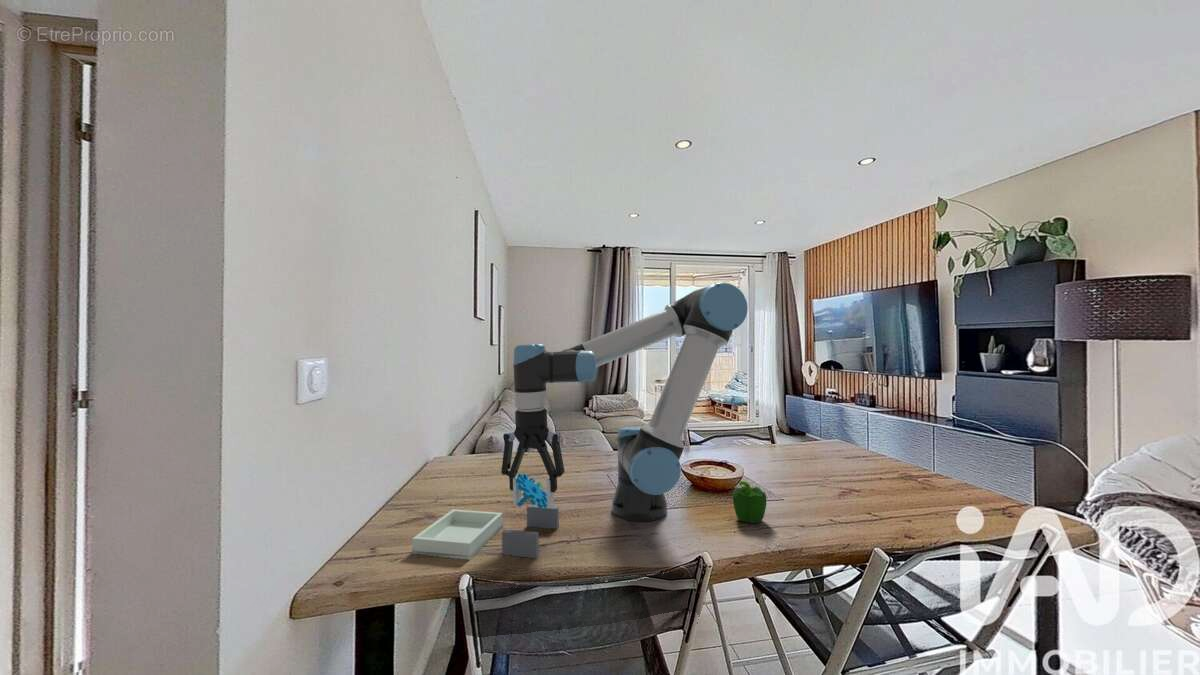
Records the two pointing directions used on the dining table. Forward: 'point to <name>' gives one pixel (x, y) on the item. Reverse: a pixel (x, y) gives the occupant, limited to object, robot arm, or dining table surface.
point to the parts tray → (458, 534)
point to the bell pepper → (749, 503)
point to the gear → (531, 491)
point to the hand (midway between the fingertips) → (533, 504)
